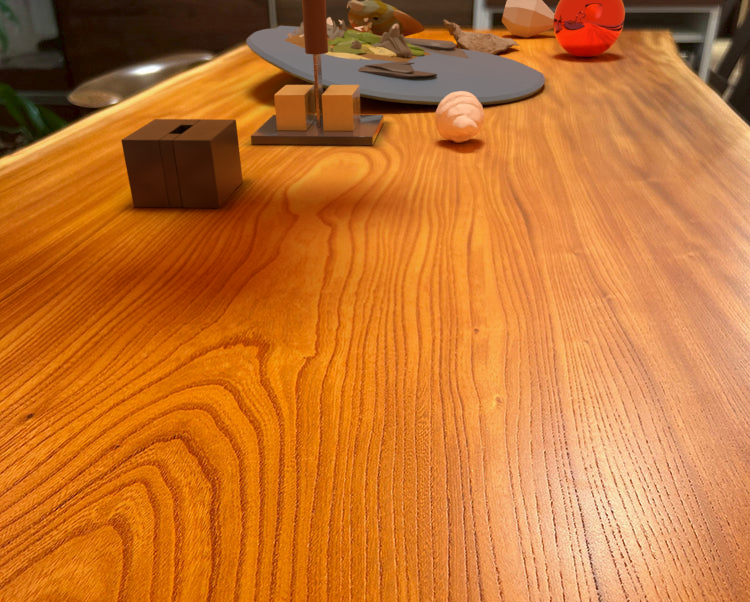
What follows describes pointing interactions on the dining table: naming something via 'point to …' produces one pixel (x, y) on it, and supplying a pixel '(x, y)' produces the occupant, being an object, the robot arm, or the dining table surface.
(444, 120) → the peach ridged curved piece
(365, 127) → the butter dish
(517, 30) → the faceted beige polyhedron
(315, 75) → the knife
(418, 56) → the serving platter
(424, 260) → the dining table surface
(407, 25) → the decorative fish sculpture
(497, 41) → the coral
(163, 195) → the brown slotted box
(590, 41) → the ball
